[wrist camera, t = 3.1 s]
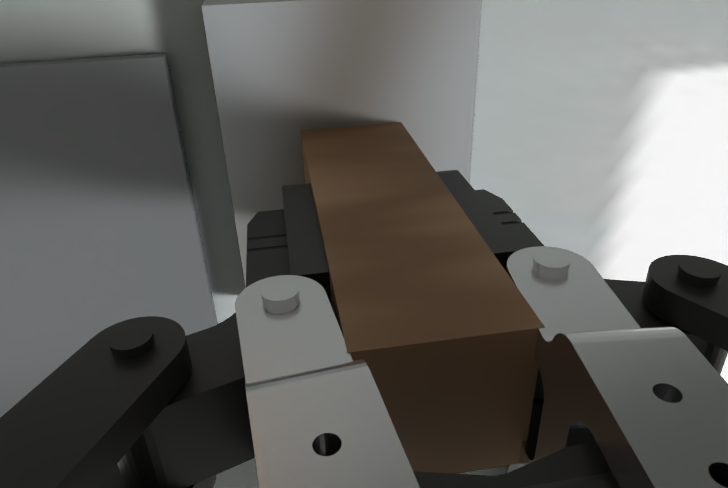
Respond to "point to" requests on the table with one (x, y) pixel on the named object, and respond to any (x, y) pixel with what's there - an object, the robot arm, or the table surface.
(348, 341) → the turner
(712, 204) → the table surface
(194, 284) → the tool mat
